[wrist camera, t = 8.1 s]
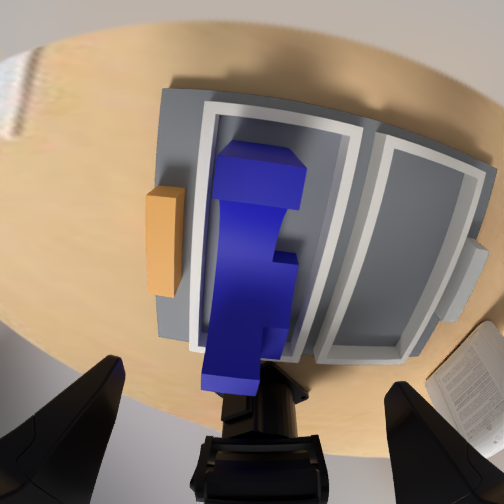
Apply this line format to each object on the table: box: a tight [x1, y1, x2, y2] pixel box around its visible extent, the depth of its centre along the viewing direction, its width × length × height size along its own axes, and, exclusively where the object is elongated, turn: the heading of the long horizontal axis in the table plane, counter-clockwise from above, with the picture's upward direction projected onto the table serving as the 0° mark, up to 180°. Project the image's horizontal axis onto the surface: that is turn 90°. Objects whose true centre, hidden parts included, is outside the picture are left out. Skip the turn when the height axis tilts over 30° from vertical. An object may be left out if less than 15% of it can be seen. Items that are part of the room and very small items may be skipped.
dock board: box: [146, 88, 497, 365], centre depth 17 cm, size 22×17×3 cm
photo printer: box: [425, 321, 504, 458], centre depth 18 cm, size 10×4×12 cm, turn 154°
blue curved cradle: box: [201, 140, 307, 396], centre depth 15 cm, size 12×4×6 cm, turn 172°
